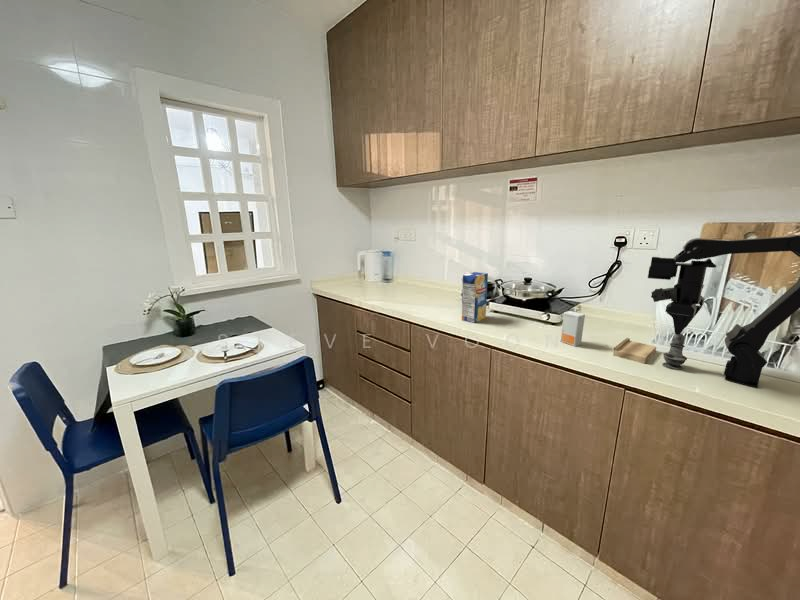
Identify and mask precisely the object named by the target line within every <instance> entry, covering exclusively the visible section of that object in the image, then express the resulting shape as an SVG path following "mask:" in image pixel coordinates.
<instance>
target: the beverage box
mask: <svg viewBox="0 0 800 600" xmlns="http://www.w3.org/2000/svg"><path fill="white" fill-rule="evenodd" d="M488 274H489V273H486V272H477V271H474V272H469V273H464V274H462V292H461V293H462V295H461V296H462V297H461V300H462V301H461V321H463V322H468V323H471V324H475V323H478V322H480V321H482V320H484V319H486V318H487V317H486V316H487V297H488V296H487V294H488V278H489V275H488Z"/></svg>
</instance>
